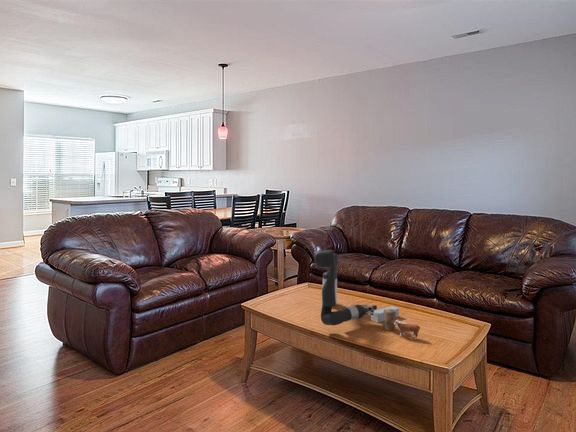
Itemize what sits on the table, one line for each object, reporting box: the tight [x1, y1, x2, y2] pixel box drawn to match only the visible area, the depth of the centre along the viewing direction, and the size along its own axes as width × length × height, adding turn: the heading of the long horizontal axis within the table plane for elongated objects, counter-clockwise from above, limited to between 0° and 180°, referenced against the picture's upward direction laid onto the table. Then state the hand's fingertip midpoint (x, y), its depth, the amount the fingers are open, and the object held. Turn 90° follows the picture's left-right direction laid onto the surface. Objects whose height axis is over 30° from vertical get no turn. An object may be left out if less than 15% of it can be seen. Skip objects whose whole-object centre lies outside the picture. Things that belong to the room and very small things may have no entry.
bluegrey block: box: [370, 305, 400, 323], centre depth 243 cm, size 5×5×18 cm
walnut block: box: [382, 309, 397, 331], centre depth 226 cm, size 5×5×10 cm
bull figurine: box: [394, 319, 421, 340], centre depth 215 cm, size 4×13×8 cm, turn 59°
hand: (375, 307), depth 238 cm, fingers closed
